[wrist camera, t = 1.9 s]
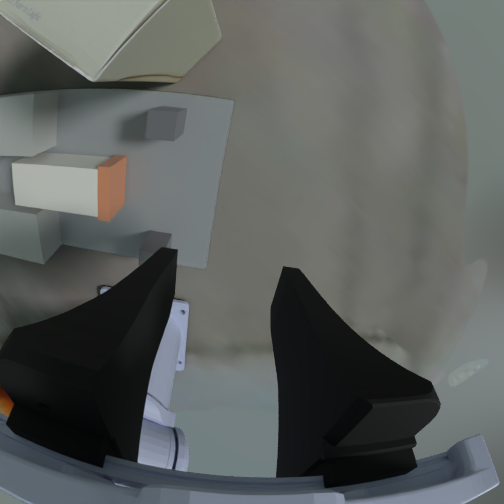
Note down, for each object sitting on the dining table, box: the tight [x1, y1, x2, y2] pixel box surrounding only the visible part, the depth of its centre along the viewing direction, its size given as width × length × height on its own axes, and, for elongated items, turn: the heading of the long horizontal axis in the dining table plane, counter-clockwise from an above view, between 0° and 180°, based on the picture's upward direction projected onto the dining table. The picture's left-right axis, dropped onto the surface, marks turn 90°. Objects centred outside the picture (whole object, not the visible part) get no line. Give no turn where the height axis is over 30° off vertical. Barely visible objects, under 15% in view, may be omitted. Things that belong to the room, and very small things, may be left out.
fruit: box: [0, 385, 14, 417], centre depth 34 cm, size 8×8×8 cm
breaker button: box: [12, 152, 127, 222], centre depth 17 cm, size 3×8×3 cm, turn 79°
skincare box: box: [0, 0, 222, 83], centre depth 9 cm, size 6×4×12 cm
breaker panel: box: [0, 88, 235, 269], centre depth 17 cm, size 12×21×4 cm, turn 79°
